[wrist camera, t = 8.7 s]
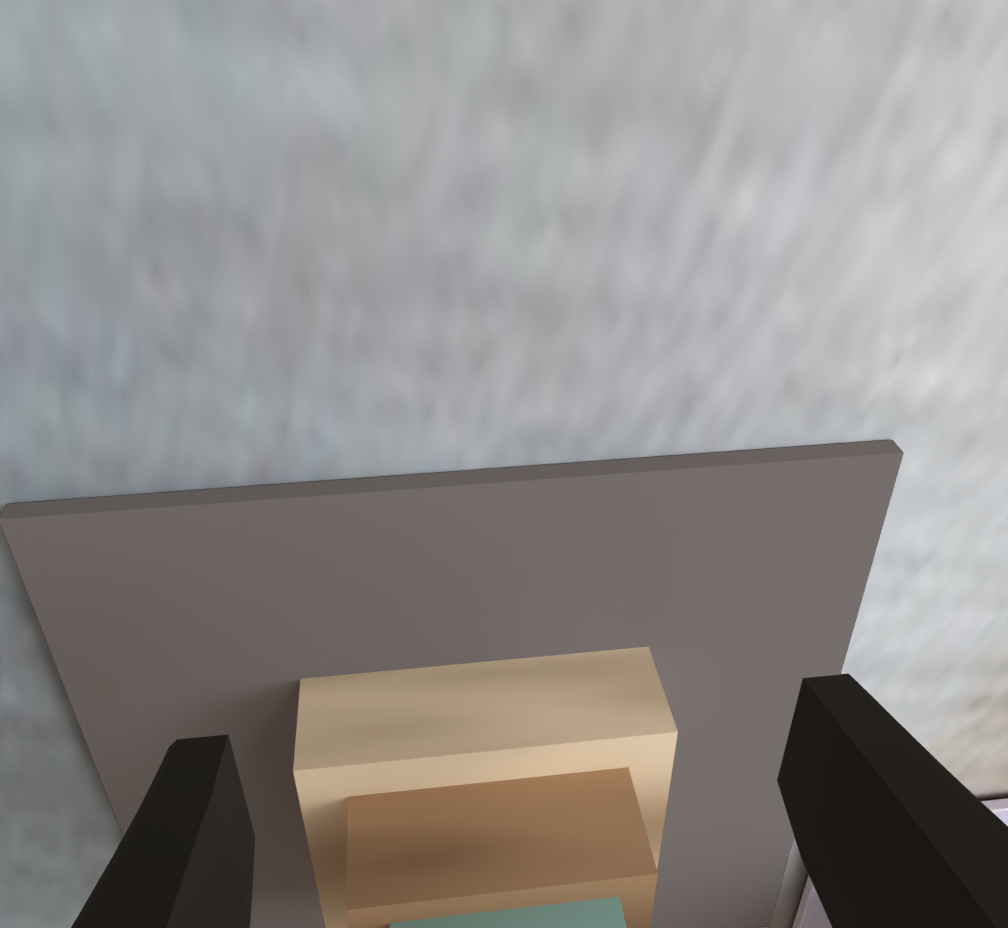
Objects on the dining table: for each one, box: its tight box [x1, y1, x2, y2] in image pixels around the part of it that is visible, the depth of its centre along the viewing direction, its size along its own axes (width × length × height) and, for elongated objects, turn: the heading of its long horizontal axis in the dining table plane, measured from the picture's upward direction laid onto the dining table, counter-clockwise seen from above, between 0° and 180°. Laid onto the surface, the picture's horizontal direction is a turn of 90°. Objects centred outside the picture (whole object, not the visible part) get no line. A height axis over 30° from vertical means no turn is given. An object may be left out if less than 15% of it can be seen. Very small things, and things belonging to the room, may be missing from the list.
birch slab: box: [293, 647, 678, 928], centre depth 22 cm, size 8×8×2 cm
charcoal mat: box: [0, 440, 903, 928], centre depth 24 cm, size 18×18×1 cm
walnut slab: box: [346, 767, 658, 928], centre depth 20 cm, size 6×6×2 cm
